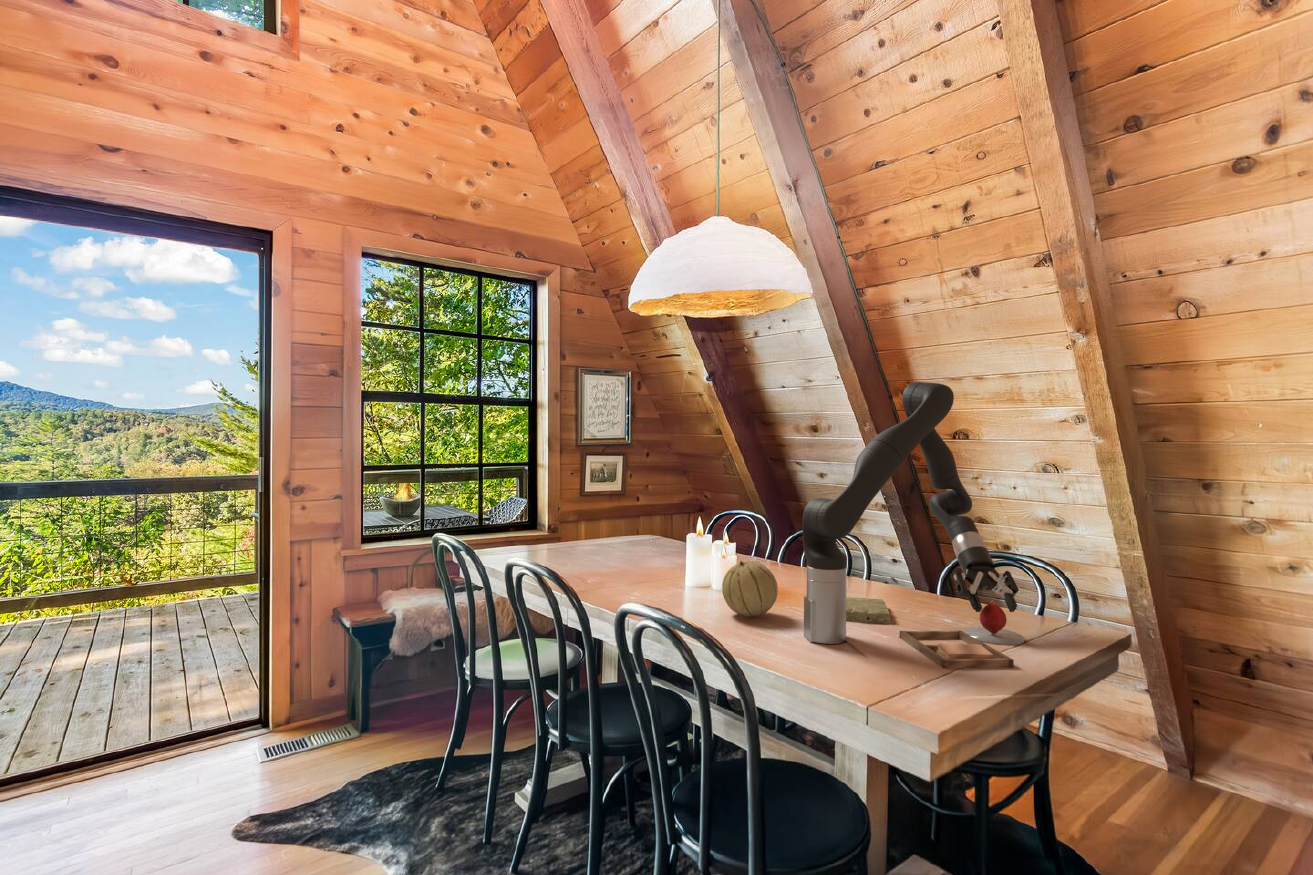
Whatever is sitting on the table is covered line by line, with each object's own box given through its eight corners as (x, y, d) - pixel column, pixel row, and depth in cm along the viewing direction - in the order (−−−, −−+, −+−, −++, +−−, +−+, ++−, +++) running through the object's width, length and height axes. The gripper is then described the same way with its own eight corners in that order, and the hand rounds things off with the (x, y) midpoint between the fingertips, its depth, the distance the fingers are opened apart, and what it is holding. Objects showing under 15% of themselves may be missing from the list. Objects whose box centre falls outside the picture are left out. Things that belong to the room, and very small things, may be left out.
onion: (994, 638, 164) (992, 604, 164) (974, 632, 169) (973, 599, 169) (1012, 634, 166) (1010, 601, 166) (992, 629, 171) (991, 596, 172)
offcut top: (948, 659, 147) (948, 653, 147) (938, 649, 154) (938, 643, 154) (993, 660, 146) (993, 654, 146) (980, 650, 153) (980, 644, 153)
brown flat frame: (943, 670, 144) (943, 660, 144) (899, 639, 166) (899, 631, 166) (1013, 669, 145) (1013, 659, 145) (960, 638, 167) (960, 630, 167)
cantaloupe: (788, 616, 187) (789, 560, 187) (754, 626, 177) (755, 567, 177) (744, 606, 197) (745, 553, 197) (710, 615, 187) (711, 559, 187)
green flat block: (811, 605, 202) (811, 592, 202) (883, 609, 198) (883, 596, 198) (812, 621, 184) (812, 608, 184) (892, 626, 180) (892, 612, 180)
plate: (981, 646, 161) (981, 642, 161) (953, 631, 174) (953, 627, 174) (1035, 646, 161) (1035, 641, 161) (1004, 630, 174) (1004, 626, 174)
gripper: (950, 545, 174) (973, 602, 163) (1005, 545, 175) (1032, 601, 164) (939, 562, 180) (961, 618, 168) (993, 562, 181) (1018, 618, 169)
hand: (996, 610), depth 166 cm, fingers open, 8 cm apart
